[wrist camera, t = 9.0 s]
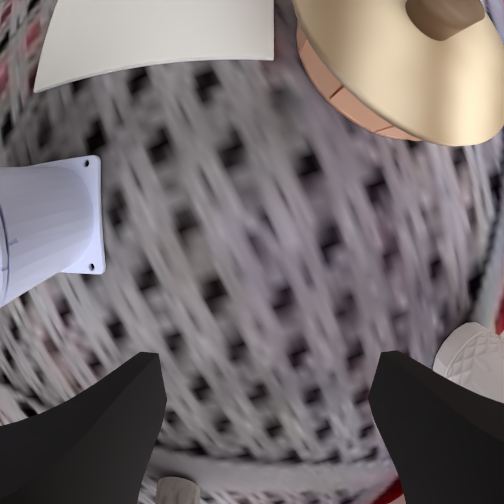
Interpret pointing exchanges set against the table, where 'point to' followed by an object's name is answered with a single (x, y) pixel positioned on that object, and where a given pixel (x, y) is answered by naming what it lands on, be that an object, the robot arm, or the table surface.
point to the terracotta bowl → (342, 94)
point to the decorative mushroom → (177, 491)
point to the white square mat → (150, 35)
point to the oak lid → (414, 63)
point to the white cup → (473, 360)
